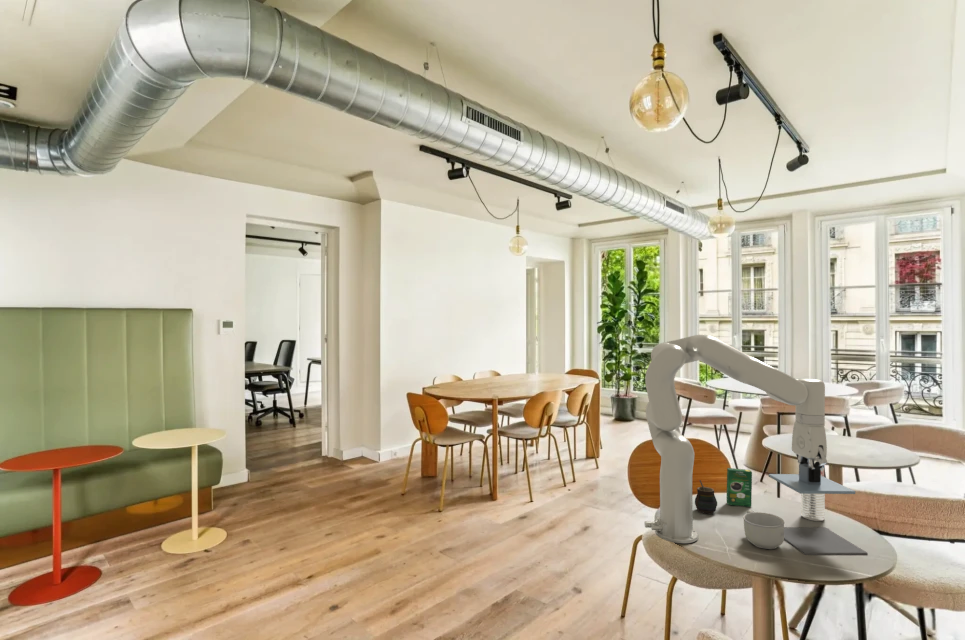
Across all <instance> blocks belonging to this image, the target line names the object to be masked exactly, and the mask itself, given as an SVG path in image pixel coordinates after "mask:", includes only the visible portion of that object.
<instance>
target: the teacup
mask: <svg viewBox="0 0 965 640" xmlns="http://www.w3.org/2000/svg"><path fill="white" fill-rule="evenodd" d="M742 518H743V529H744V530H743V531H744V536H745V538H746V539H747V540H748V541H749V542H750V543H751V544H752V545H754V546H755V547H757V548H759V549H764V550H773V549H777V548H778V547H780V546H781V545H783V543H784V541H785V540H784V527H785V521H784V519H783V518H781V517H779V516H777V515H776V514H772V513H768V512H758V511H757V512H756V511H754V510H750V509H749V510H747V513H745V514H743V516H742Z"/></svg>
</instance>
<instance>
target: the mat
mask: <svg viewBox="0 0 965 640" xmlns="http://www.w3.org/2000/svg"><path fill="white" fill-rule="evenodd" d="M784 541H785V542H787V543H788V544H790V545H791V546H793V548H795V549H796V550H798V551H800V552H801V553H802V554H804V555H808V556H809V555H811V556H812V555H813V556H814V555H828V556H829V555H836V556H837V555H850V556H851V555H859V556H860V555H867V556H868V551H865V550H864V549H862V548H861V547H858V546H857V545H856V544H853V543H852V542H851V541H848V540H847V539H845V538H844V537H842V536H841V535H839V534H837V533H835V532H834V531H832V530H831V529H829V528H827V527H826V526H817V527H816V526H810V527H809V526H805V527H804V526H786V527H785V526H784Z"/></svg>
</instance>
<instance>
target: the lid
mask: <svg viewBox="0 0 965 640" xmlns="http://www.w3.org/2000/svg"><path fill="white" fill-rule="evenodd" d="M809 468H811V467H810V464H799V463H798V473H789V474H788V473H768V478H770V479H772V480H774V481H776V482H778V483H780V484H781V485H784V486H786V487H787V488H789V489H791V490H793V491H795V492H796V493H799V494H800V495H801V494H825V495H826V494H827V495H828V494H829V495H831V494H832V495H836V494H837V495H856V490H853V489H852V488H849V487H847V486H845V485H844V484H840V483H838V482H836V481H833V480H832V479H829V478H827V477H825V476H824V477H823V476H821V482H809Z"/></svg>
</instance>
